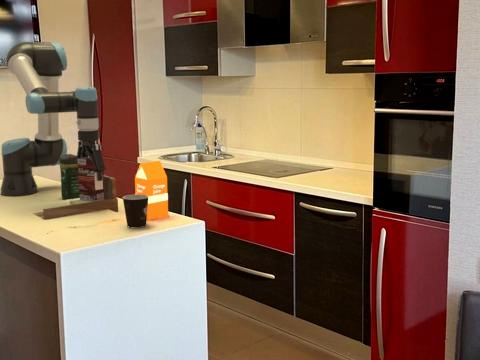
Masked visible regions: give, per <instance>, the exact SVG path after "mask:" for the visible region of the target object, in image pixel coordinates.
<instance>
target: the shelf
mask: <svg viewBox="0 0 480 360" xmlns="http://www.w3.org/2000/svg"><path fill="white" fill-rule="evenodd" d="M103 180H104V200H100V201H94V202H87V203H81V204H74V205H70V204H69V205H63V206H62V205H61V206H57V207H49V208H43V209H42V211H39V212H33V213H32V214H33V215H35V216H37V217H38V218H40V219H42V220H46V221H47V220H52V219H58V218H65V217H70V216H75V215H82V214H88V213H95V212H101V211H106V210H108V211H111V212H115V213H119V199H118V198H117V183H116V180H117V179H116V178H115V177H113V176H108V175H106V174H103Z"/></svg>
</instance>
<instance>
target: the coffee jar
mask: <svg viewBox="0 0 480 360" xmlns="http://www.w3.org/2000/svg"><path fill="white" fill-rule="evenodd" d="M76 158H77V154H71V153H67V154H65V155H62V156H61V157H60V160H59V163H60V165H59V167H60V169H59V170H60V187H61V188H60V190H61V191H60V192H61V198H62V199H63V200H65V201H66V200H67V201H70V200H73V199H74V200H77V199H80V198H79V181H78V164H76Z"/></svg>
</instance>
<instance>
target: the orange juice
mask: <svg viewBox="0 0 480 360" xmlns="http://www.w3.org/2000/svg"><path fill="white" fill-rule="evenodd" d="M134 189H135V190H134V191H135V193H134V194H143V195H148V209H147V219H148V220H147V221H151V220H150V219H153V220H155V219H154V218H157V219H160V218H159V217H162V218H165V216H166V217H169V194H168V176H167V173H166V171H165V169H164V166H163V165H162V162H161V160H155V161H154V160H153V161H146V162H140V163H139V167H138V169H137V172H136V173H135V177H134Z"/></svg>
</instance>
